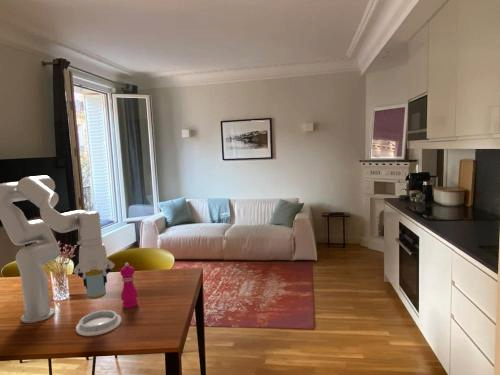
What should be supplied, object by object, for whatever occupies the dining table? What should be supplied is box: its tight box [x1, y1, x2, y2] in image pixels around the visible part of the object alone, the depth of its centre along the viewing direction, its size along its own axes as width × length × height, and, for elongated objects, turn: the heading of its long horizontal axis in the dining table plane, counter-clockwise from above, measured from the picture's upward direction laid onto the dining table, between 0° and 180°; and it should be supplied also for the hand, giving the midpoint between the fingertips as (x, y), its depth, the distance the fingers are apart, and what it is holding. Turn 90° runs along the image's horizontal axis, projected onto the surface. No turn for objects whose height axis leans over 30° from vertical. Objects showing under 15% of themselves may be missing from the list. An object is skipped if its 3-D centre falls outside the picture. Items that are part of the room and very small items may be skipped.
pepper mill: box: [120, 262, 139, 309], centre depth 161 cm, size 7×7×20 cm
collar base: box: [75, 309, 122, 337], centre depth 144 cm, size 17×17×3 cm
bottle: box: [85, 261, 107, 300], centre depth 142 cm, size 7×7×15 cm
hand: (95, 285), depth 142 cm, fingers closed on bottle, 5 cm apart
